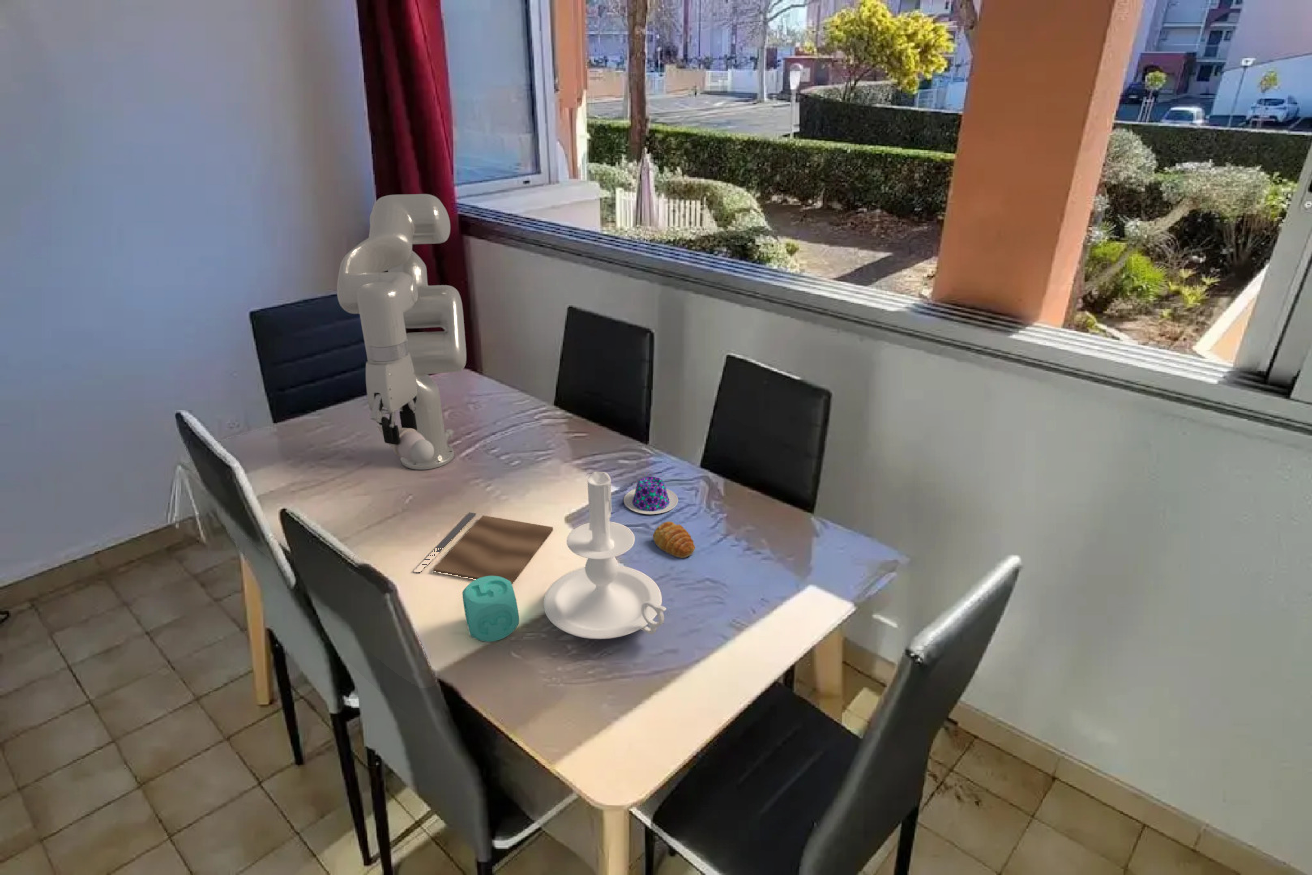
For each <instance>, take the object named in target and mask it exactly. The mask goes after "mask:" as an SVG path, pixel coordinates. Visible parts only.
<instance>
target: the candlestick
mask: <svg viewBox="0 0 1312 875" xmlns="http://www.w3.org/2000/svg"><path fill="white" fill-rule="evenodd" d="M611 480H612V479H611V476H610V475H609V473H607V472H606V471H594V472H591V474H590V475H589V476H588V478H587V496H588V498H587V499H588V519H589V521H588V522H587V523H584V524H581V525H578V526H577V527H575V528H574V529H573V530H571V531H570V533H568V535H567V537H566V545H567V547H568V549H569V550H570V551H571V552H572V553H574V554H575V555H576V556H578V557H581V558H585V559H586V563H585V566H583V567H580V568H576V569H575V570H572V571H570V572H568V573H565V574H563V575H562V576H560V577H558V579H556V580H555V581H554V582H552V583H551V585H550V586H549V588H548V589H547V591H546V592H545V595H544V598H543V610H544V612H545V615H546V617H547V619H548V620H549V621H550V622H551V623H552V624H553V625H554V626H555V627H556V628H558V629H559V630H561V631H563V632H565V633H567V634H569V635H572V636H574V637H579V638H584V639H591V640H607V639H614V638H620V637H623V636H627V635H630V634H633V633H635V632H637V631H639V630H642V631H643V632H645V633H646V634H649V635H653V634H655V633H656V632H657V629H658V628H659V627H661V626H662V625H663V624H664V623H665V616H664V612H665V611H666V610H667V608H666V607H665V606H663V605H662V601H663V599H662V591H661V590H660V588H659V586H658V584H657V583H656V582H655V581H654V580H653V578H651V577H650V576H648V575H647V574H645V573H643V572H642V571H640V570H638V569H635V568H632V567H628V566H626V565H625V566H624V565H619V563H618V560H617V559H616V557H619V556H621V555H623V554H625V553H627V552H628V551H629V550H631V549H632V547H633V546H634V544H635V540H636V539H635V534H634V532H633V531H632V529H630V528H629V527H628V526H625V525H623V524H622V523H618V522H613V521H610V519H611V518H612V511H613V509H612V508H613V507H612V487H611V486H612V481H611ZM656 616H657V618H658V621H655V620H654V619H655V618H656ZM647 625H648V626H647Z"/></svg>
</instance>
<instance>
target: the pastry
mask: <svg viewBox="0 0 1312 875" xmlns="http://www.w3.org/2000/svg"><path fill="white" fill-rule="evenodd" d="M652 539H653V541H654V543H655V545H656V546H657V547H658V548H659V549H660V550H662V551H664V552H665V553H667V554H669V555H670V556H673V557H674V558H675V557H676V558H681V559H684V558H688V557H690V556H692V555H693V554H694V551H695V550H696V545H695V544H694V540H693V539H692V536H691V534H690V533H689V532H688V531H687V530H686V529H685V528H684V526H682V525H681V524H676V523H674V521H665V522H662V523H661V524H659V525H658V526H657V527H656V528H655V530H654V532H653V534H652Z"/></svg>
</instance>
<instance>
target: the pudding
mask: <svg viewBox="0 0 1312 875" xmlns="http://www.w3.org/2000/svg"><path fill="white" fill-rule="evenodd" d="M623 503H624V505H625V507H627V509H629V510H631V511H633V512H636V513H638V514H645V515H655V514H656V515H657V514H659V515H660V514H661V513H662V514H663V513H667V512H669V511H671V510H673V509H674V508H675V507H676V506H677V505H678V503H679V498H678V496H677V494H676V493H675V492H674V491H672V490H670V489H669V488H667V487H666V484H665V482H664V481H663V479H661V478H660V477H656V476H653V475H651V476H643V478H640V479H639V480H638V481H637V483H636V488H633V489H632V490H629V491H628V492H626V494H625V495H624V497H623Z"/></svg>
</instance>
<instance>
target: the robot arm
mask: <svg viewBox="0 0 1312 875" xmlns="http://www.w3.org/2000/svg"><path fill="white" fill-rule="evenodd" d="M369 225H370V226H369V234H368V238H366V239H364V240H362V241H361V242H360V243H359V244H357V245H356V246H354V248H352V249H350V251H349V252H347V253H346V255H344V257H343V258H342V260H341V262H340V266H339V269H338V271H339V272H338V275H337V276H338V277H337V283H336V284H337V285H336V288H337V289H336V294H337V301H338V303H339V306H340V307H341V308H342V310H344V311H345V312H347V313H349V314H353V315H355V314H356V315H357V314H358V315H359V317H360V318H359V319H360V323H361V330H362V334H363V336H362V337H363V341H364V347H365V352H366V358H367V361H366V362H365V385H366V386H365V387H366V395H367V403H368V408H369V410H370V411H371V413H370V415H369V416H370V420H371V421H375V422H376V423H377V424H379V425H378V426H381V427H382V430H383V435H382V436H383V441H384V443H385V444H388V445H389V444H394V445H399V444H400V436H399V430H398V428H399V426H398V425H397V424H396V415H397V414H396V413H397V412H396V411H398V410H399V412H398V413H399V420H400V426H401V427H400V428H412V429H415V430H416V431H417V432H418V433H420V434H421V435H422V436H423V437H424V438H425V440H427V441H429V442H430V443H431V444H432V445H433V448H434V454H433V457H432V458H431V459H430V460H429V461H427V462H425V463H419V462H416V461H415V460H409V459H406V458H404V457H400V463H401V465H402V466H404V467H406V468H409V469H412V470H422V471H423V470H431V469H432V470H433V469H436V468H439V467H442V466H444V465H446V464H448V463H449V462H451V461H452V460H453V459H454V456H455V451H454V448H453V447H452V446H451V445H449V444H448V441H449V439H450V438H451V437H452V436H454V431H453V429H452V428H447V429H446V430H445V424H444V417H443V412H442V411H443V410H442V401H441V394H440V393H441V392H440V388H439V387H438V385H437V383H436V382H435V380H433V378H432V377H431V376H430V375H433V374H445V373H446V374H448V373H457V372H461V371H462V370H463V369H464V368H465V366H466V364H467V347H466V346H467V344H466V335H465V334H466V331H465V323H464V322H465V320H464V309H463V308H464V307H463V302H462V298H461V295H460V292H459V291H458V289H456V288H455V287H454V286H452V285H447V284H445V285H444V284H441V285H439V284H437V285H436V284H435V285H429V284H428V273H427V272H428V271H427V265H426V264H425V262H424V261H423V259H422V258H421V257H420V256H419V255H418V254H417V253H416V252H415V251H413V245H428V244H429V245H430V244H434V245H435V244H442V243H445V242H446V241H448V239H449V237H450V234H451V221H450V217H449V214H448V211H447V209H446V207H445V206H444V204H443V203H442V202H441V200H440V199H439V198H438V197H437V196H435V195H432V194H429V193H418V194H417V193H416V194H414V193H413V194H412V193H411V194H410V193H409V194H407V193H406V194H389V195H385V196H381V197H379V198H378V199H377V200H376V201H374V204H373V207H372V210H371V213H370V216H369ZM426 328H427V329H429V328H442V329H443V331H422V332H420V331H419V332H418V331H417V332H407V329H426ZM386 414H387V415H389V418H388V417H387V416H386Z"/></svg>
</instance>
